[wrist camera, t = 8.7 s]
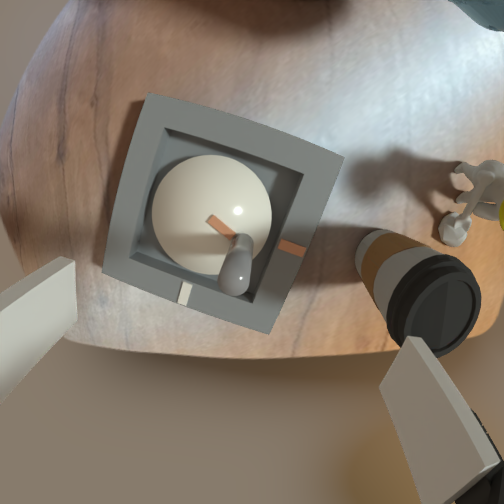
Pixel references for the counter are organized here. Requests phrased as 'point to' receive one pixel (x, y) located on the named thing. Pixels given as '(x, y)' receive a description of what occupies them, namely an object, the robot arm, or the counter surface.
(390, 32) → the counter surface
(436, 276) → the coffee cup
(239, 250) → the dial
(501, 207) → the figurine
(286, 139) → the dial board
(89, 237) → the counter surface
